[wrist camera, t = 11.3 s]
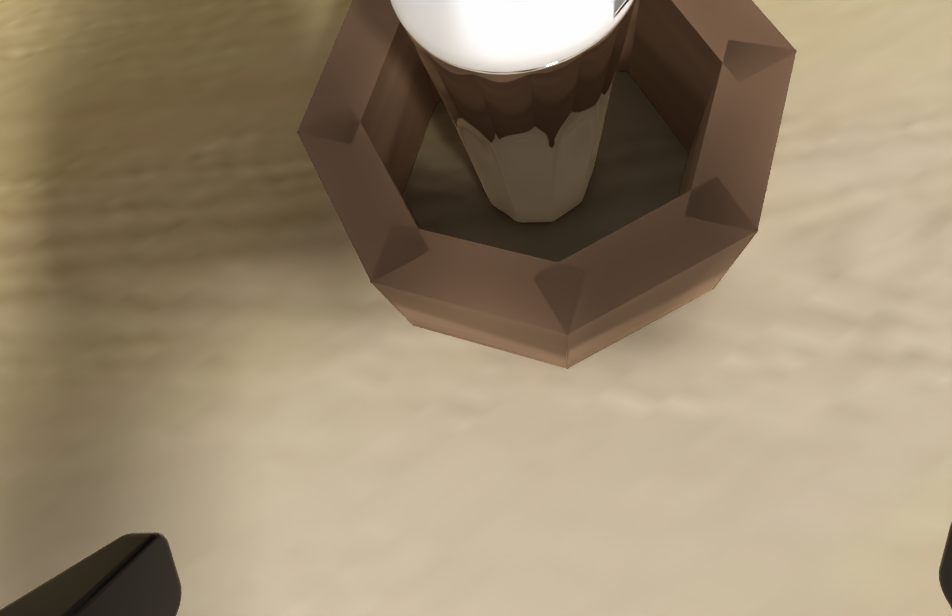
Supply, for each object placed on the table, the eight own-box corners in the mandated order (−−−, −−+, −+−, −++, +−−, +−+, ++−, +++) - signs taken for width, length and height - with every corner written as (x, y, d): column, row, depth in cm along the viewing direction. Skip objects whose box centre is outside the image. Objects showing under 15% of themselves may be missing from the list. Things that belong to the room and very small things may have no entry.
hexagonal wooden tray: (768, 51, 18) (821, -62, 14) (687, 402, 16) (726, 377, 12) (430, -1, 21) (399, -110, 17) (314, 298, 18) (247, 249, 14)
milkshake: (575, 291, 17) (583, 52, 8) (433, 193, 19) (289, -109, 9) (668, 171, 18) (784, -192, 8) (522, 85, 19) (477, -304, 10)
